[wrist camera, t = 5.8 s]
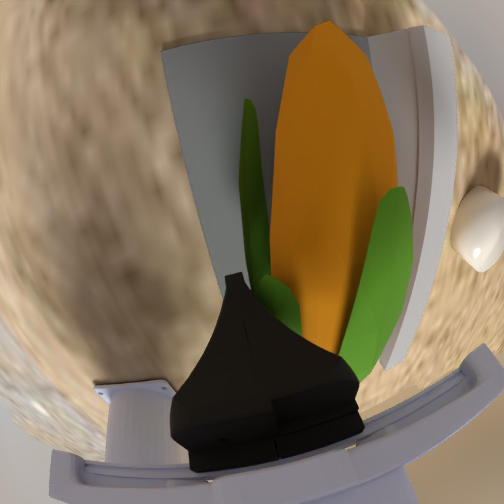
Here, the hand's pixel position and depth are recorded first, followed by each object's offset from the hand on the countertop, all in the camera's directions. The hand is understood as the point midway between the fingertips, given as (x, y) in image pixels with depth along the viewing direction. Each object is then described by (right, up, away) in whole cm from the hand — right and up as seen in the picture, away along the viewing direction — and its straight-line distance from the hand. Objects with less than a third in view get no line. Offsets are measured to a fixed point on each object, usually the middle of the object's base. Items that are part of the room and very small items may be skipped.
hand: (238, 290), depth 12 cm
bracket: (+4, +3, +4) cm, 6 cm away
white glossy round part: (+21, +5, +7) cm, 22 cm away
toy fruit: (+3, +3, +3) cm, 5 cm away
